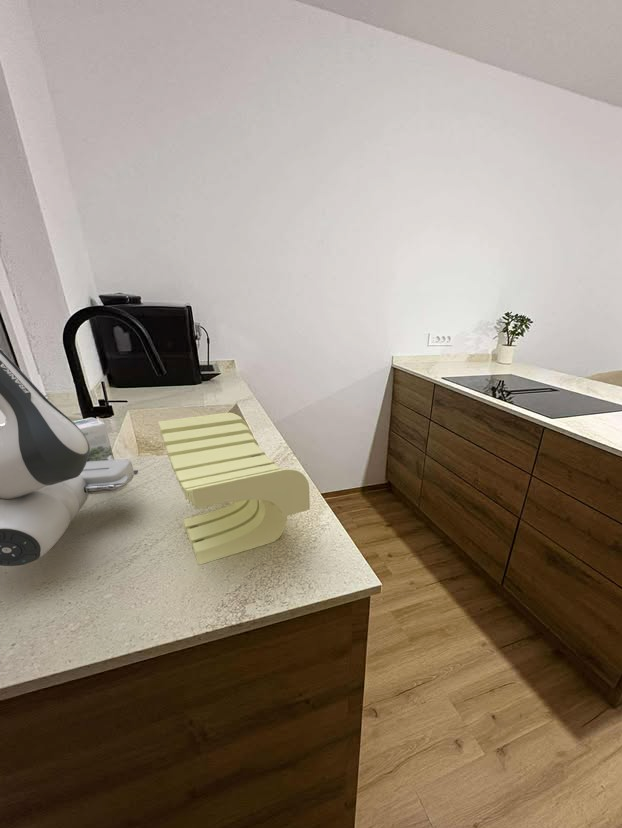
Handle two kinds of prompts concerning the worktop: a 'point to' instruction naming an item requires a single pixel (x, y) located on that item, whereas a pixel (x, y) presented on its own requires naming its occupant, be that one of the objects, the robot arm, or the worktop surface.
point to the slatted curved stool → (230, 485)
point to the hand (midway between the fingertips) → (82, 460)
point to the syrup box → (95, 438)
